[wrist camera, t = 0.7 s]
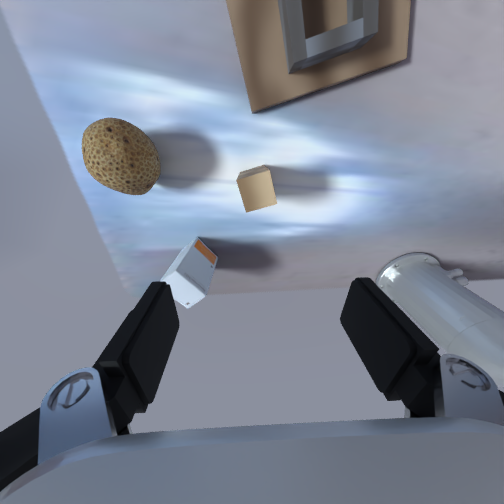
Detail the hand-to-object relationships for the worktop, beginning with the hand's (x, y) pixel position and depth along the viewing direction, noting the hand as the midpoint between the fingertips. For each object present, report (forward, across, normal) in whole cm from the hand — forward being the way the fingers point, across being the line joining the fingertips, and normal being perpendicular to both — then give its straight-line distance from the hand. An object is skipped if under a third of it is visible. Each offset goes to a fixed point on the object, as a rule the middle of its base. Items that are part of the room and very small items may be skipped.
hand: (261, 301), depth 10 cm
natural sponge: (+27, +16, -5) cm, 32 cm away
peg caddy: (+26, -8, -21) cm, 34 cm away
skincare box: (+26, +9, +11) cm, 30 cm away
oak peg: (+26, -1, -2) cm, 26 cm away
